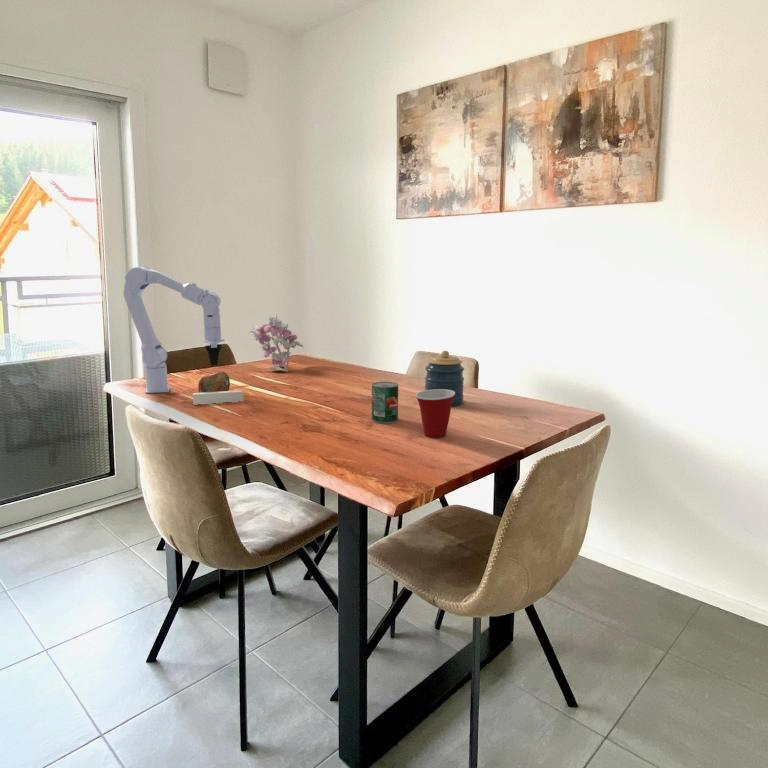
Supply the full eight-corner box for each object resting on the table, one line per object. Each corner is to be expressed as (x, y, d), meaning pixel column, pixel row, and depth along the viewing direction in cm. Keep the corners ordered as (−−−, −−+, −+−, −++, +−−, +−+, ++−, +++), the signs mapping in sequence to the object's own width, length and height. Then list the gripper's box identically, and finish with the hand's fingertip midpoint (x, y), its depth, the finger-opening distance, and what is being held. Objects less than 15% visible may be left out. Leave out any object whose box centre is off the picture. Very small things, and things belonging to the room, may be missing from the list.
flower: (321, 365, 268) (301, 312, 270) (293, 367, 247) (272, 310, 249) (285, 381, 276) (267, 330, 278) (256, 385, 255) (236, 330, 257)
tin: (205, 402, 203) (203, 377, 201) (197, 401, 204) (195, 377, 202) (231, 393, 217) (230, 370, 215) (223, 392, 218) (222, 369, 216)
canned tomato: (372, 416, 185) (372, 381, 183) (398, 417, 185) (398, 381, 183) (370, 423, 178) (370, 386, 176) (397, 423, 177) (398, 386, 175)
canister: (419, 405, 200) (420, 352, 197) (430, 397, 212) (431, 347, 209) (458, 408, 196) (459, 354, 193) (467, 400, 208) (468, 349, 205)
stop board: (193, 403, 201) (192, 393, 200) (242, 400, 206) (242, 390, 205) (193, 404, 199) (192, 394, 198) (243, 401, 204) (242, 391, 203)
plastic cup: (412, 430, 171) (412, 388, 169) (450, 429, 172) (451, 387, 170) (417, 441, 160) (418, 396, 158) (457, 440, 161) (459, 396, 159)
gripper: (225, 329, 212) (226, 367, 214) (222, 325, 225) (224, 361, 228) (203, 329, 209) (206, 368, 212) (202, 325, 223) (204, 362, 226)
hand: (214, 364), depth 220 cm, fingers closed
